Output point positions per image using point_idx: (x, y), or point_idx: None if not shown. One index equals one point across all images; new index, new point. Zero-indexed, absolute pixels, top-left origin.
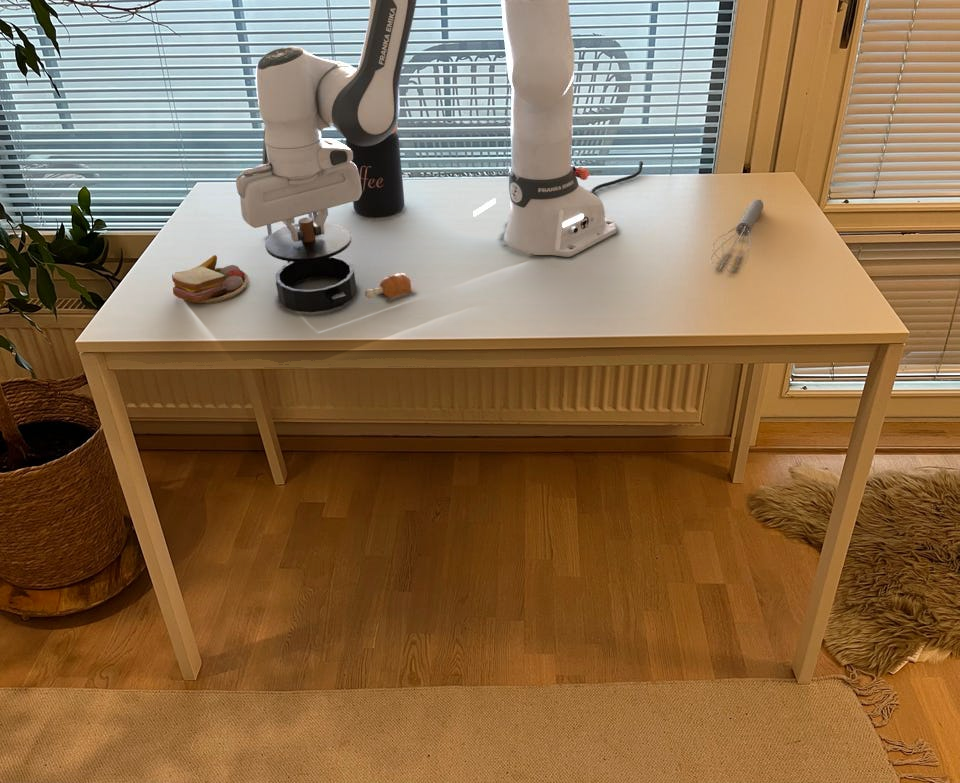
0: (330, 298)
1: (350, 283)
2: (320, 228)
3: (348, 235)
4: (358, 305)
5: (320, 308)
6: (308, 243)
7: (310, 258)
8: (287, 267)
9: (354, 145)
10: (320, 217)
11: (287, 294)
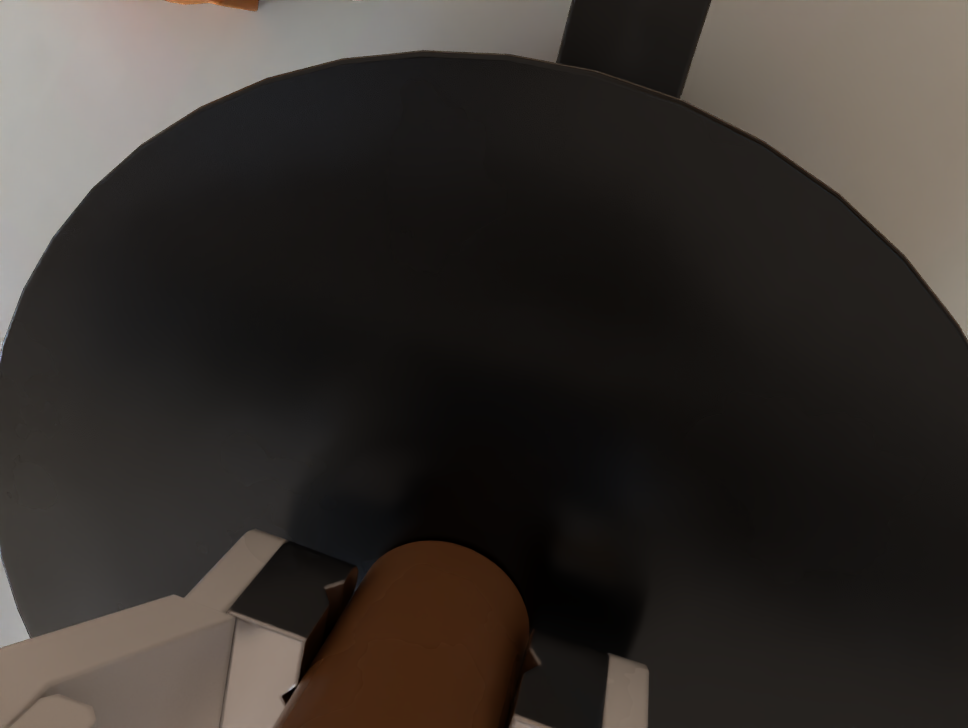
0: (707, 11)
1: None
2: (254, 586)
3: (52, 302)
4: (462, 13)
5: None
6: (517, 543)
7: (835, 193)
8: None
9: None
10: (118, 716)
11: None
